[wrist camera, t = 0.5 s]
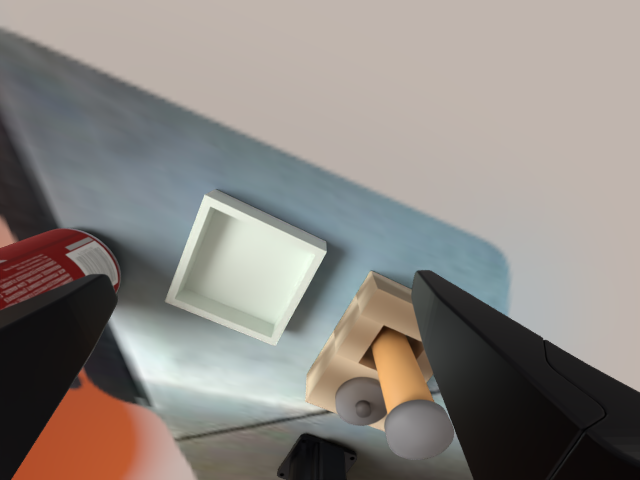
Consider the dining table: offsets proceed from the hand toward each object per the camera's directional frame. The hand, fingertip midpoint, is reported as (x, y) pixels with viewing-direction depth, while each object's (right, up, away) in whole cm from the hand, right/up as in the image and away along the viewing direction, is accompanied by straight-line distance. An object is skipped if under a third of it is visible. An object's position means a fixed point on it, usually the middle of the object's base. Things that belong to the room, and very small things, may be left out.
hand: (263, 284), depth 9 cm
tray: (-4, -1, +15) cm, 16 cm away
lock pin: (+7, -7, +17) cm, 20 cm away
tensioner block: (+7, -8, +18) cm, 21 cm away
